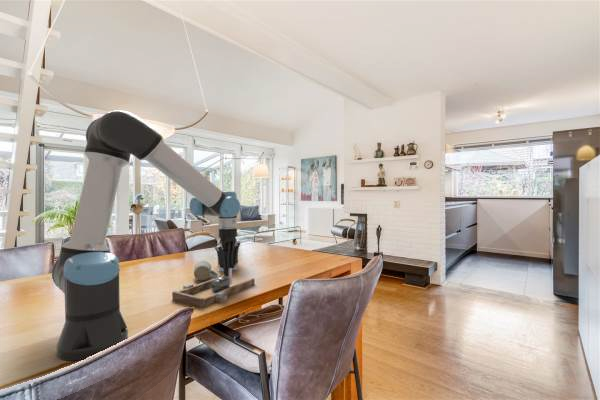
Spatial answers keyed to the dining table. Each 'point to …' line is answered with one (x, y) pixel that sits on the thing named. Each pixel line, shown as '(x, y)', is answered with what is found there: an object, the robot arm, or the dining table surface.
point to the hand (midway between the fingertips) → (228, 283)
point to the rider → (220, 284)
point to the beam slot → (220, 297)
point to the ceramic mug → (204, 271)
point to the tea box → (218, 261)
